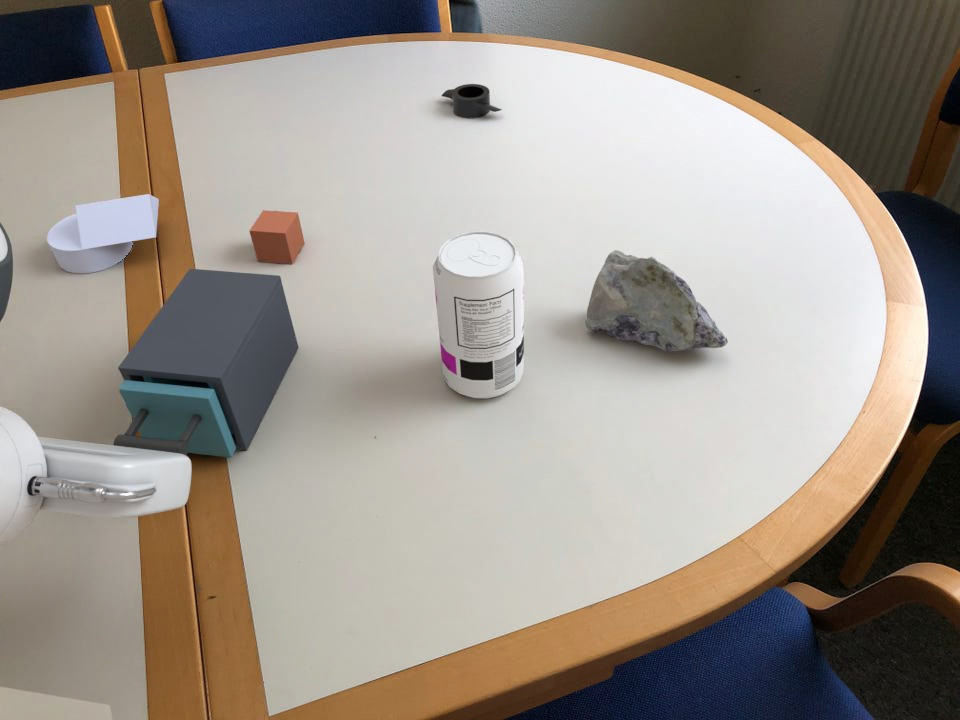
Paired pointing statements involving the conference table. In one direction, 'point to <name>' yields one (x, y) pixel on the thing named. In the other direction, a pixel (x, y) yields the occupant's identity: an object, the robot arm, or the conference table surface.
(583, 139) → the conference table surface
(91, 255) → the lavender piece
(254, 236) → the block
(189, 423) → the drawer
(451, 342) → the supplement can
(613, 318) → the mineral rock
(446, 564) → the conference table surface
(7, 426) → the robot arm
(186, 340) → the grey drawer cabinet
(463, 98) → the black finned ring
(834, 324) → the conference table surface
